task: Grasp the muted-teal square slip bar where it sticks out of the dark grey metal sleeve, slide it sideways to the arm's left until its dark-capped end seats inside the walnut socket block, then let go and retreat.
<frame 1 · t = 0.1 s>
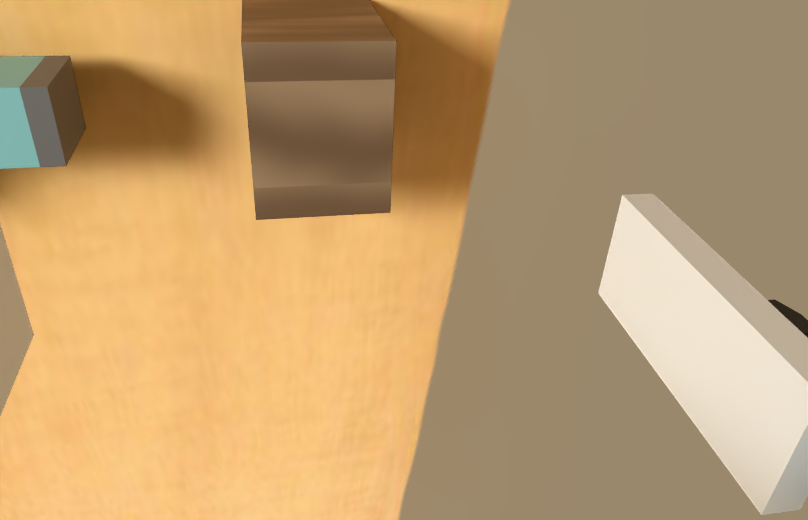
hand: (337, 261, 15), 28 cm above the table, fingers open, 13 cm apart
socket block: (308, 77, 41), on the table
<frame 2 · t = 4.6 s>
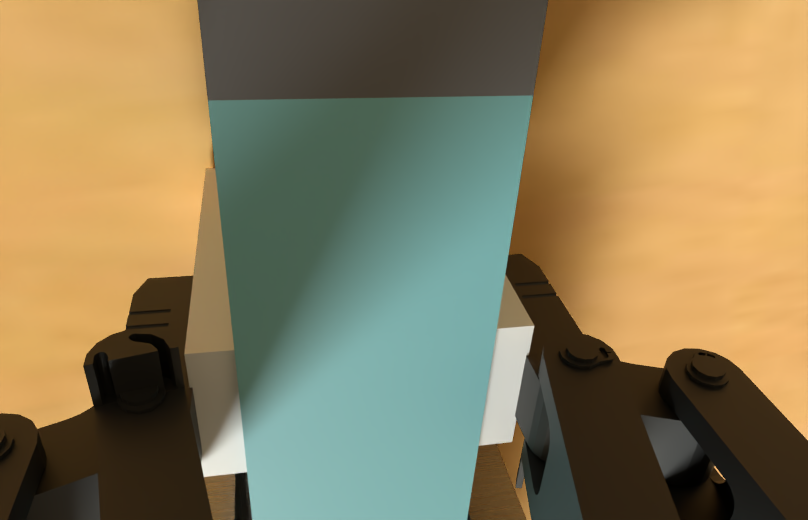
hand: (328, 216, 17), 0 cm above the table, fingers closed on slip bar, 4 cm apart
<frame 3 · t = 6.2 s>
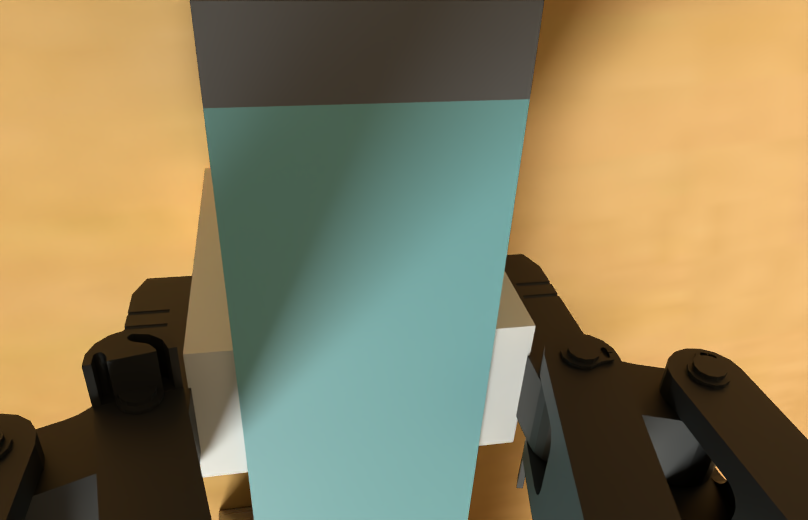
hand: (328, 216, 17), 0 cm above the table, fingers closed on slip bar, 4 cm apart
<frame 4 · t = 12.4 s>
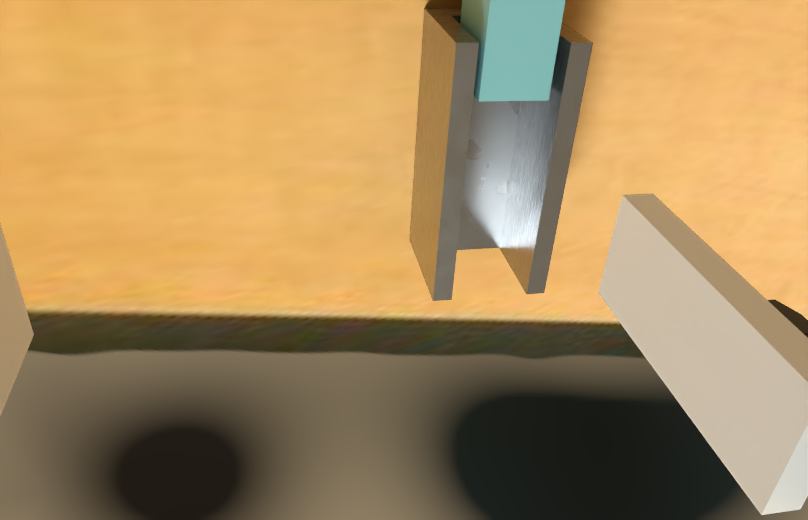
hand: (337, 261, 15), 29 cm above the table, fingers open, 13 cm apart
sleeve: (470, 133, 46), on the table
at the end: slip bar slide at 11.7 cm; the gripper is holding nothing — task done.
